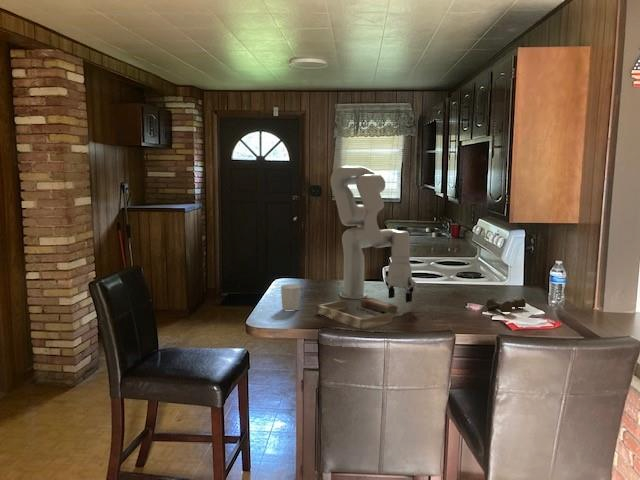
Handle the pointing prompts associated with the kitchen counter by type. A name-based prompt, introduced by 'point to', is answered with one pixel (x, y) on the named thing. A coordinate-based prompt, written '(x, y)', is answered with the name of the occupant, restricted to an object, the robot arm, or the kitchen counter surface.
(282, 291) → the white cup
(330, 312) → the wooden frame
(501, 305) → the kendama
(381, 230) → the robot arm
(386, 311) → the packaged product
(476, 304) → the kitchen counter surface
